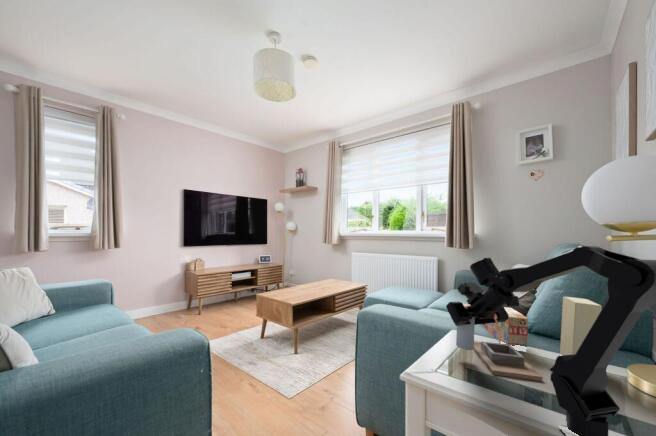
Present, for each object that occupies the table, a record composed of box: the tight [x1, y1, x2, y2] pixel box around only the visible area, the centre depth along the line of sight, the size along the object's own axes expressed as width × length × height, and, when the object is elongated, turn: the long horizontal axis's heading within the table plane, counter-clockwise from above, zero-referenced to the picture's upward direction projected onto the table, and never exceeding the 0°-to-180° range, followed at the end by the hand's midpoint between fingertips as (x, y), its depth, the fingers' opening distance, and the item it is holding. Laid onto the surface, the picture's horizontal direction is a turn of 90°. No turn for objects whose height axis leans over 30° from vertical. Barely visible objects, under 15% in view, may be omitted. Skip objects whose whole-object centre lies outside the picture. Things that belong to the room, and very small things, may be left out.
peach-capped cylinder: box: [455, 302, 476, 351], centre depth 87 cm, size 5×5×13 cm
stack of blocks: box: [484, 306, 529, 348], centre depth 106 cm, size 21×6×12 cm, turn 170°
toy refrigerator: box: [559, 296, 603, 355], centre depth 86 cm, size 8×7×21 cm
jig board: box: [472, 340, 543, 382], centre depth 88 cm, size 20×13×4 cm, turn 170°
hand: (462, 324), depth 88 cm, fingers closed on peach-capped cylinder, 5 cm apart
